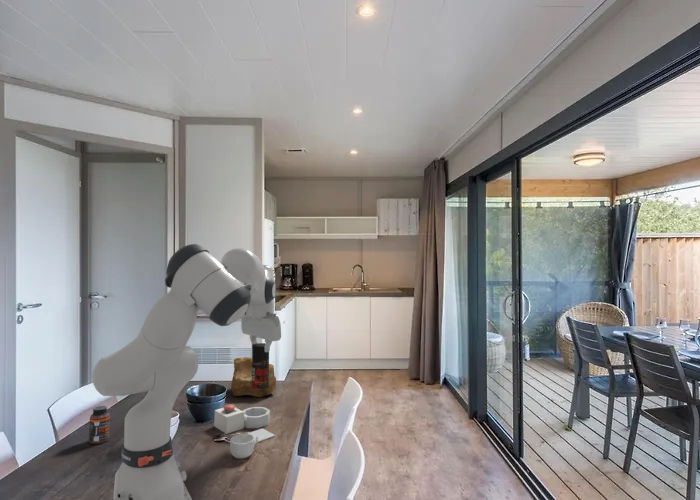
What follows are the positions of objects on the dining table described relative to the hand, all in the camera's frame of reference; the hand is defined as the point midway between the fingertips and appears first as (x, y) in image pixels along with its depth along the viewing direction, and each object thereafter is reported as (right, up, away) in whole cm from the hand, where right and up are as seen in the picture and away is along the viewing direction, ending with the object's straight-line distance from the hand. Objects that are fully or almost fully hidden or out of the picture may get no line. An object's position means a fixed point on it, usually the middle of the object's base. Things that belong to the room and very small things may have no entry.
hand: (260, 349), depth 148 cm
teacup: (-2, -31, -13) cm, 33 cm away
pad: (0, -31, 0) cm, 31 cm away
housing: (-8, -30, +10) cm, 33 cm away
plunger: (-13, -28, +7) cm, 32 cm away
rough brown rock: (-15, -31, +43) cm, 55 cm away
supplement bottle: (-54, -30, -6) cm, 62 cm away
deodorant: (0, -14, 0) cm, 14 cm away
